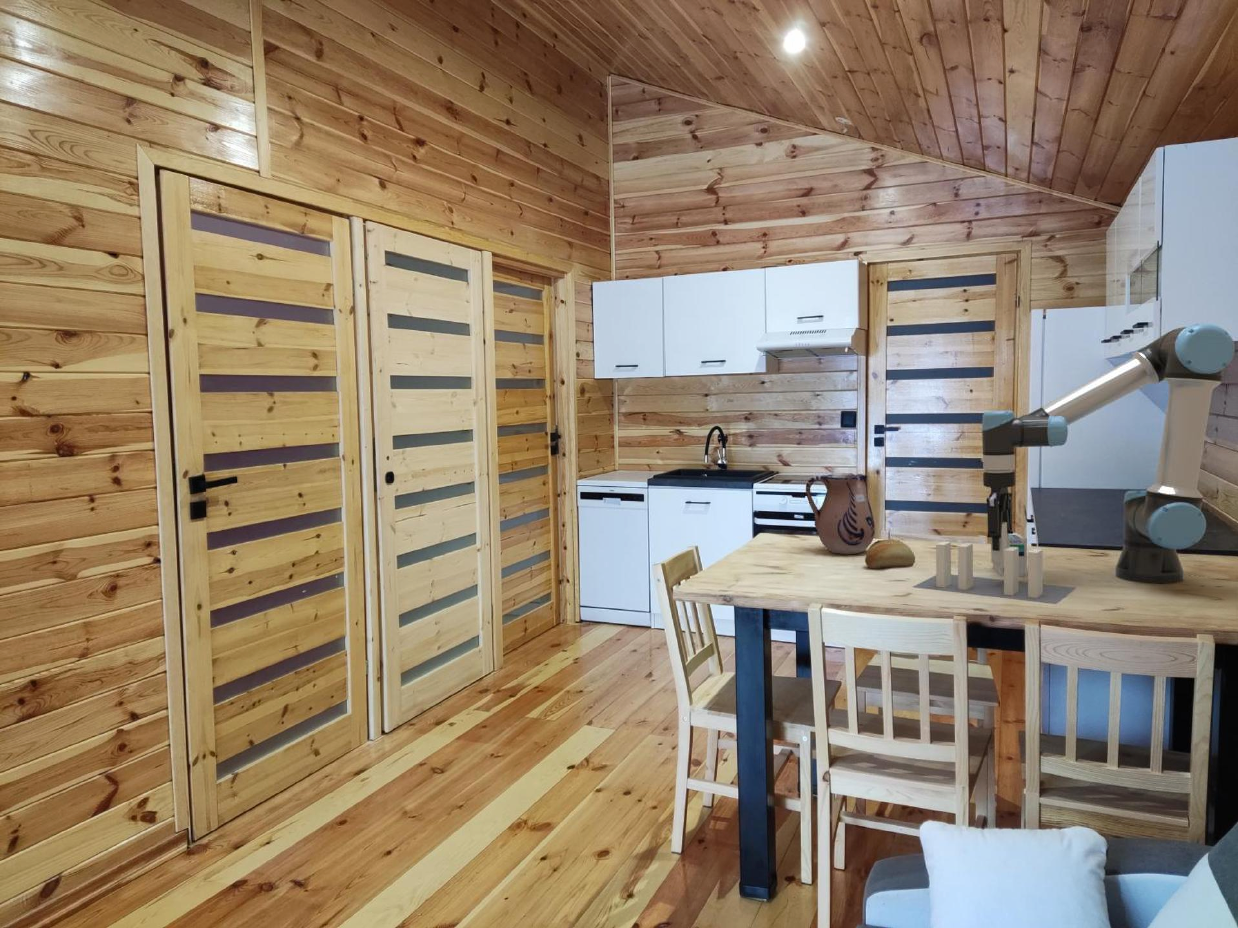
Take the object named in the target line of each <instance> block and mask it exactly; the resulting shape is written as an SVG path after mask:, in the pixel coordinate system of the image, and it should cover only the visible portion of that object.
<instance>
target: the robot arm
mask: <svg viewBox="0 0 1238 928" xmlns="http://www.w3.org/2000/svg"><path fill="white" fill-rule="evenodd" d="M1235 347H1236V346H1235V343H1234V340H1233V337H1232V336H1231V334H1229V333H1228V331H1226V330H1225V329H1224V328H1222V327H1220V326H1218V325H1215V324H1209V323H1199V324H1198V323H1195V324H1191V325H1189V326H1184V327H1178V328H1175V329H1172V330H1170V331H1168V332H1166V333H1165V334H1163V335H1161V336H1159V337H1158V338H1157V339H1155V340H1154V341H1151V343H1149V344H1146V346H1143V347H1142V348H1140V349H1139V350H1137V351H1135V352H1134V353H1133V354H1132V358H1130V359H1128V360H1127V361H1124V362H1123V363H1121V364H1119V365H1117V366H1115V367H1113V368H1111V369H1110V370H1108V371H1106V372H1104V373H1102V374H1100V375H1099V376H1097V377H1095V378H1093V379H1091V380H1089V381H1088V382H1085V383H1083V384H1081V385H1080V386H1078V387H1077V388H1074V389H1072V390H1071V391H1069V392H1067V393H1065V394H1063V395H1061V396H1060V397H1058V398H1056V399H1054V400H1052V401H1050V402H1049V403H1046V404H1045V405H1043V406H1041V407H1040V408H1038V409H1035V410H1034V411H1032V412H1030V413H1028V414H1023V415H1020V416H1018V417H1016V416H1015V413H1014V411H1013V410H993V411H989V410H988V411H985V412H984V413H983V414H982V425H981V426H982V427H981V435H982V436H981V439H982V458H980V461H981V462H982V467H983V471H984V472H983V473H982V475H983V476H982V482H983V483H982V484H983V486H984V487H986V488H990V493H989V496H988V497H987V498H986V499H985V501H986V506H987V511H986V512H987V515H986V516H987V535H986V537H987V538H990V546H991V547H990V554H991V555H990V556H991V558H990V560H991V561H990V563H992V564H993V563H1002V564H1003V538H1001V537H1002V535H1001V534H1002V522H1007V548H1009V547H1010V534H1013V533H1014V530H1013V510H1012V507H1013V506H1012V500H1013V493H1012V492H1009V488H1013V487H1015V486H1016V472H1015V471H1014V470H1015V469H1016V452H1015V449H1016V448H1033V447H1034V448H1038V447H1050V448H1052V447H1058V446H1060V447H1062V446H1064V445H1065V444H1066V443H1067V441H1068V435H1069V434H1068V433H1069V432H1068V431H1069V430H1068V426H1070V425H1071V424H1074V423H1076V422H1077V421H1079V420H1080V419H1083V418H1085V417H1086V416H1089V415H1091V414H1092V413H1093V414H1094V412H1096V411H1099V410H1100V409H1102V408H1104V407H1106V406H1107V405H1110V404H1112V403H1114V402H1116V401H1118V400H1119V399H1121V398H1123V397H1125V396H1127V395H1130V394H1131V393H1133V392H1135V391H1137V390H1139V389H1141V388H1142V387H1144V386H1146V385H1148V384H1153V385H1157V384H1159V383H1160V382H1162V381H1165V382H1166V383H1167V384H1168V385H1169V392H1168V393H1169V394H1168V399H1167V406H1166V412H1165V419H1164V424H1163V430H1162V431H1163V432H1162V437H1161V443H1160V450H1159V457H1158V464H1157V470H1156V475H1155V481H1154V482H1155V483H1154V484H1152V485H1151V486H1150V487H1148V488H1147V489H1146V490H1128V491H1126V492H1125V493H1124V500H1123V501H1122V503H1123V504H1122V505H1123V548H1122V550H1121V552H1120V556H1119V557H1118V560H1117V563H1116V566H1115V576H1116V577H1118V578H1121V579H1124V580H1129V581H1134V582H1140V583H1152V584H1169V583H1170V584H1171V583H1178V582H1182V581H1184V578H1185V577H1184V575H1185V573H1184V569H1183V566H1182V564H1181V561H1180V558H1179V554H1178V553H1177V550H1182V549H1183V550H1184V549H1188V548H1190V547H1192V546H1194V545H1195V544H1196V543H1198V542H1200V540H1201V539H1202V537H1203V536H1204V534H1205V532H1206V528H1207V520H1206V517H1205V515H1204V513H1203V512H1202V505H1203V500H1204V499H1203V498H1204V495H1203V494H1202V493H1201V492H1200V491H1199V490H1198V483H1199V476H1200V471H1201V470H1200V469H1201V464H1202V457H1203V451H1204V445H1205V439H1206V432H1207V426H1208V419H1209V415H1210V414H1209V413H1210V407H1211V400H1212V395H1213V390H1214V389H1215V388H1216V387H1218V386H1220V385H1221V384H1222V381H1223V375H1224V369H1226V368H1227V366H1229V364H1230V363H1231V362H1232V360H1233V358H1234V356H1235V351H1236V348H1235Z"/></svg>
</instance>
